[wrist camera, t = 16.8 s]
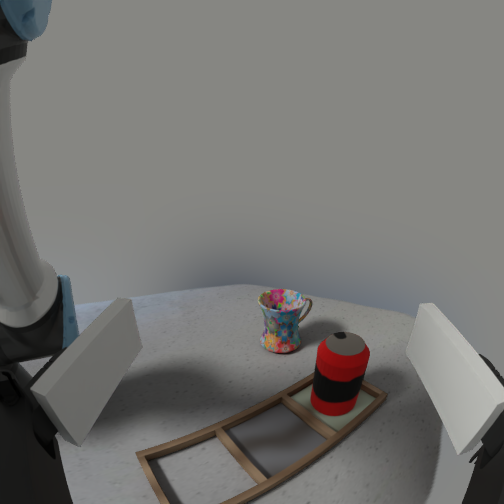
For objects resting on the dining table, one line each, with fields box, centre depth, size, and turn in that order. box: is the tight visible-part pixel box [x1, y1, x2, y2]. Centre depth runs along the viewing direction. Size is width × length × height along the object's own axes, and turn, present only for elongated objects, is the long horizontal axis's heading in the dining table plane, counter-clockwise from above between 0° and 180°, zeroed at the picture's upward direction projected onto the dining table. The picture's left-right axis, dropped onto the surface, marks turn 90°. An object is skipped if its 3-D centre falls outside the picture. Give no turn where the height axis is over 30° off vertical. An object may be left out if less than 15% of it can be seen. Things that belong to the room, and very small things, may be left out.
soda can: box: [310, 332, 370, 416], centre depth 37 cm, size 8×8×12 cm
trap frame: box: [135, 373, 388, 504], centre depth 32 cm, size 13×37×2 cm, turn 125°
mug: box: [258, 289, 312, 353], centre depth 55 cm, size 12×9×11 cm
